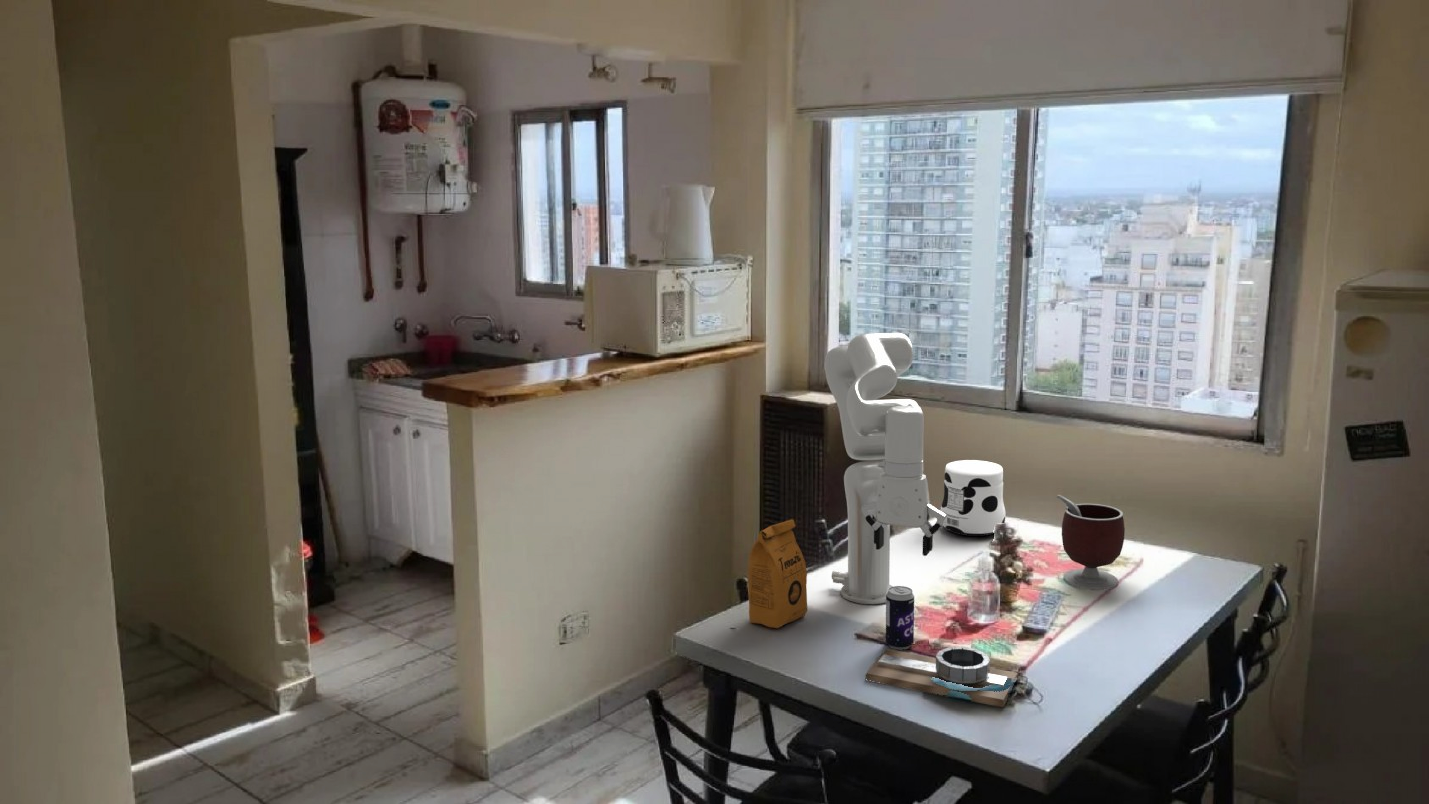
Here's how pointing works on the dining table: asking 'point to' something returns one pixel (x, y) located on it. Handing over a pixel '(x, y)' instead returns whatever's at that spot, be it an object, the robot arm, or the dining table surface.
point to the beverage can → (899, 617)
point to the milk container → (973, 497)
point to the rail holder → (951, 666)
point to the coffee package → (777, 577)
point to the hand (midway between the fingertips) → (902, 550)
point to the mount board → (927, 685)
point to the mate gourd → (1092, 543)
